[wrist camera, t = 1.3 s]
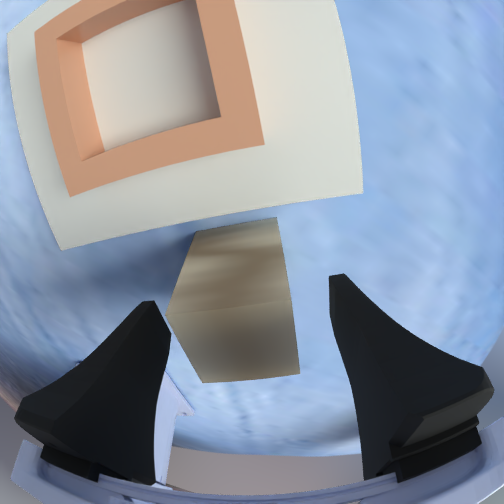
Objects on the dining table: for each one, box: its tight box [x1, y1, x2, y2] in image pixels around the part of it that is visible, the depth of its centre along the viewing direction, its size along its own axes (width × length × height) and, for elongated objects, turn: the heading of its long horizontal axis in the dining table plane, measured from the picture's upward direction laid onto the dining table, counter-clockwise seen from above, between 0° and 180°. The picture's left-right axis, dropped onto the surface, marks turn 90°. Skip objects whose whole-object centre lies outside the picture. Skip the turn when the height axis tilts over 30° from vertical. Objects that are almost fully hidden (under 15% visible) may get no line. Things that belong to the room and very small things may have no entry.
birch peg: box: [165, 217, 300, 383], centre depth 12 cm, size 4×4×6 cm
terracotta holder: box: [34, 0, 265, 197], centre depth 8 cm, size 8×8×2 cm
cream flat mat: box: [7, 0, 363, 251], centre depth 9 cm, size 16×14×1 cm
